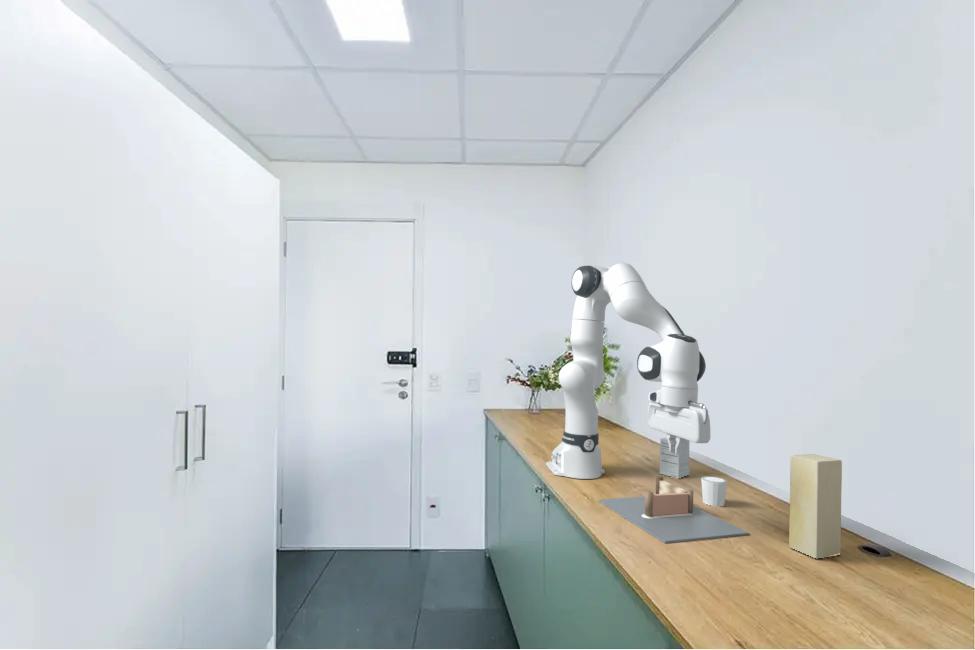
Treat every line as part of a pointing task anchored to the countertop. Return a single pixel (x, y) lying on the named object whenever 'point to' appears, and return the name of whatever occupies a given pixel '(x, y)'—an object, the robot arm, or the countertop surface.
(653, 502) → the hinged fence panel
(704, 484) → the white cup
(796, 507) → the toy refrigerator
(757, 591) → the countertop surface
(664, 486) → the fixed fence panel
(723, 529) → the card
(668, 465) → the supplement box
